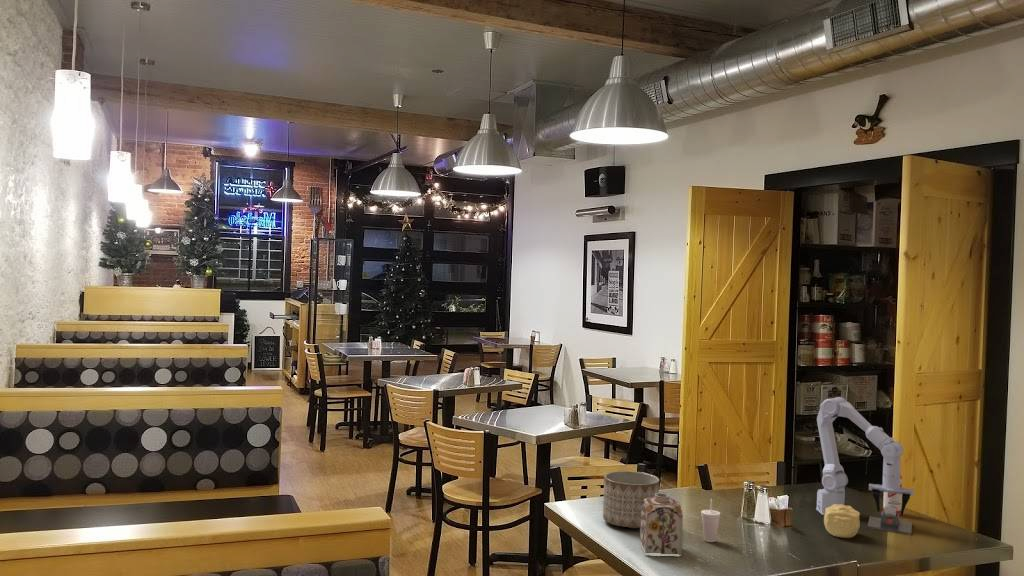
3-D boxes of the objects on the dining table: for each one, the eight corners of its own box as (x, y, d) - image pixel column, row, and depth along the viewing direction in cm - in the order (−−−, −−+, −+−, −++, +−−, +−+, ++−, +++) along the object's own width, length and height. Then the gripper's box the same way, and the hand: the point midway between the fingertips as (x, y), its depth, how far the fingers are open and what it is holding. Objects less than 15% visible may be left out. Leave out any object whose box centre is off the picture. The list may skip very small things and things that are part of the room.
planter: (655, 535, 260) (656, 486, 260) (598, 528, 266) (600, 481, 265) (660, 519, 279) (661, 473, 279) (607, 513, 284) (608, 468, 284)
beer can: (904, 516, 292) (905, 474, 292) (887, 515, 292) (888, 474, 292) (896, 511, 298) (897, 470, 298) (879, 511, 298) (881, 470, 298)
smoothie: (720, 539, 258) (721, 498, 258) (719, 545, 252) (720, 503, 252) (700, 537, 260) (702, 495, 260) (699, 542, 254) (700, 500, 254)
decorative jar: (639, 543, 251) (641, 489, 251) (675, 545, 251) (677, 490, 251) (644, 556, 239) (646, 499, 239) (682, 558, 239) (684, 500, 239)
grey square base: (867, 528, 276) (867, 515, 276) (869, 518, 288) (870, 506, 288) (911, 535, 269) (911, 522, 269) (911, 524, 282) (912, 512, 282)
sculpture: (824, 537, 263) (825, 506, 263) (822, 527, 275) (823, 497, 275) (860, 542, 259) (861, 511, 259) (857, 532, 271) (858, 502, 271)
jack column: (883, 526, 278) (884, 507, 278) (884, 523, 281) (884, 504, 281) (895, 528, 276) (896, 508, 276) (895, 525, 279) (896, 506, 279)
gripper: (868, 474, 279) (867, 511, 279) (913, 480, 272) (912, 518, 272) (870, 470, 285) (868, 507, 285) (914, 476, 278) (912, 513, 278)
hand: (890, 512), depth 279 cm, fingers open, 7 cm apart
